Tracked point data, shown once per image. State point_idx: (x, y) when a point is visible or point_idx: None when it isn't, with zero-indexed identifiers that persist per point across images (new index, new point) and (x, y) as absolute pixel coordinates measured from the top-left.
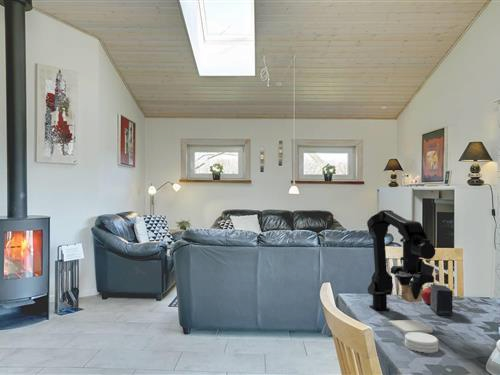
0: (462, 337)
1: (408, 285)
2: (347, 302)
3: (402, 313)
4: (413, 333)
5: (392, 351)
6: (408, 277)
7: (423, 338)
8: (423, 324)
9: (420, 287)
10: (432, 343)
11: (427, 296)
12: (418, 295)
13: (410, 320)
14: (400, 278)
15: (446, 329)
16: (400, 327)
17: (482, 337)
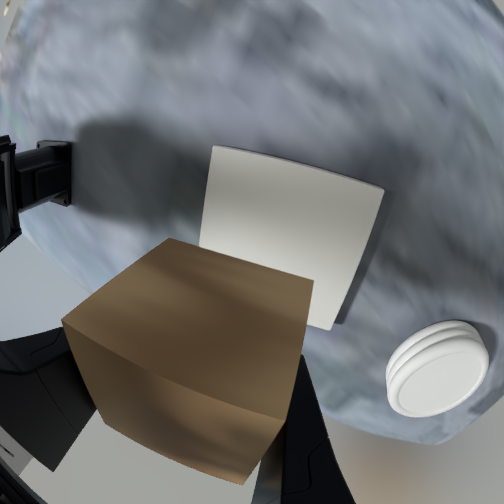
0: (479, 121)
1: (111, 403)
2: None
3: (105, 111)
4: (407, 385)
5: (391, 426)
6: (2, 414)
7: (450, 387)
8: (299, 165)
9: (334, 487)
10: (479, 385)
11: None
12: (311, 383)
13: (218, 180)
14: (56, 457)
15: (375, 75)
16: None
17: (496, 46)
